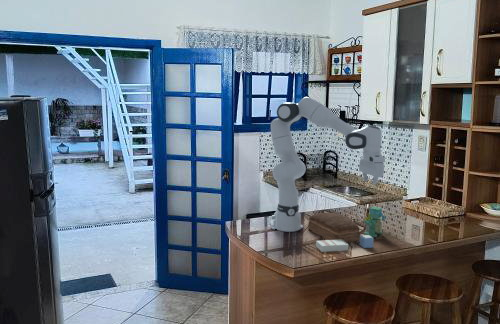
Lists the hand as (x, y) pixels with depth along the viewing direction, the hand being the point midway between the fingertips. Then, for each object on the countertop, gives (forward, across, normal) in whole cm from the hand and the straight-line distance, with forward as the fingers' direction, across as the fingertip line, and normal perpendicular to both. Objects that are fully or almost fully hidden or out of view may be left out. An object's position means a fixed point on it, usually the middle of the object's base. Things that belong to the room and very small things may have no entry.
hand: (369, 182), depth 236 cm
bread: (+32, -11, -14) cm, 36 cm away
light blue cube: (+31, +10, -5) cm, 33 cm away
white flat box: (+31, +10, -24) cm, 41 cm away
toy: (+31, -8, +9) cm, 34 cm away
